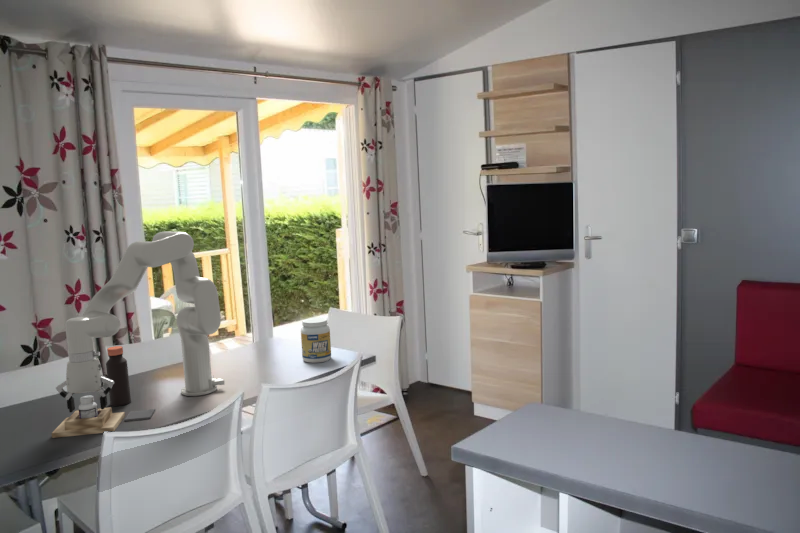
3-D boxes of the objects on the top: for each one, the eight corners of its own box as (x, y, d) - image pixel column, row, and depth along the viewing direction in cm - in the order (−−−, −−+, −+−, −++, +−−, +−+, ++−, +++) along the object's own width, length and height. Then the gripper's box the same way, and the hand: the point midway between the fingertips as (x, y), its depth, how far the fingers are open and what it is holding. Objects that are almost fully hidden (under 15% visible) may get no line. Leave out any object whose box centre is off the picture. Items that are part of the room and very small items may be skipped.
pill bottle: (84, 424, 213) (81, 395, 212) (101, 423, 214) (98, 394, 213) (77, 430, 208) (74, 400, 207) (95, 429, 209) (92, 399, 207)
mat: (155, 410, 224) (155, 408, 223) (150, 418, 216) (150, 417, 216) (130, 413, 222) (130, 411, 222) (124, 421, 214) (124, 419, 214)
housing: (125, 416, 219) (123, 404, 219) (113, 431, 206) (112, 419, 205) (67, 421, 216) (65, 410, 216) (52, 437, 203) (50, 425, 202)
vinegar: (118, 407, 229) (112, 351, 226) (106, 404, 232) (100, 349, 230) (135, 401, 234) (129, 346, 232) (123, 399, 238) (117, 344, 235)
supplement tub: (309, 365, 271) (306, 324, 269) (298, 359, 281) (295, 320, 279) (336, 360, 277) (333, 320, 275) (324, 354, 287) (322, 315, 285)
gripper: (114, 351, 213) (119, 403, 215) (56, 356, 210) (63, 408, 213) (107, 357, 206) (113, 410, 208) (48, 362, 203) (54, 416, 205)
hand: (88, 409), depth 210 cm, fingers open, 9 cm apart
